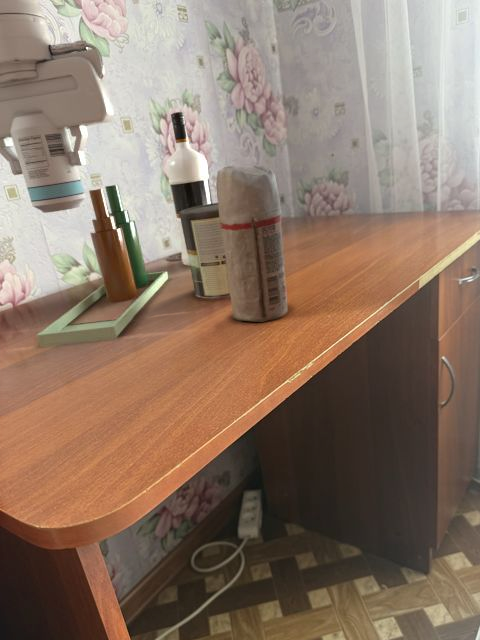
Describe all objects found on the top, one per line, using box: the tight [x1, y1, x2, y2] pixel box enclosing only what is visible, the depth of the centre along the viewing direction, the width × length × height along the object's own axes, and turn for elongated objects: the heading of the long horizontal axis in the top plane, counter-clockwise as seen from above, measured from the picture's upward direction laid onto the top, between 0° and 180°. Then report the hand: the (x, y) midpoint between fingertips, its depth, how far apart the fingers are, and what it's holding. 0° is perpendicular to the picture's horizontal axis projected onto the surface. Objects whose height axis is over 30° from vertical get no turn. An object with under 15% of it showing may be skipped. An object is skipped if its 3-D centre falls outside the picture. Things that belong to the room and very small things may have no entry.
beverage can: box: [10, 111, 86, 214], centre depth 66 cm, size 7×7×12 cm
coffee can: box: [179, 202, 230, 299], centre depth 82 cm, size 10×10×14 cm
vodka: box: [165, 111, 213, 266], centre depth 103 cm, size 9×9×30 cm
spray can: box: [215, 165, 289, 323], centre depth 67 cm, size 8×8×20 cm
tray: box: [36, 270, 169, 348], centre depth 83 cm, size 11×31×2 cm, turn 177°
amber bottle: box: [88, 187, 139, 303], centre depth 84 cm, size 5×5×18 cm
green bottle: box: [104, 184, 150, 290], centre depth 91 cm, size 5×5×18 cm
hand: (49, 170), depth 67 cm, fingers closed on beverage can, 7 cm apart
